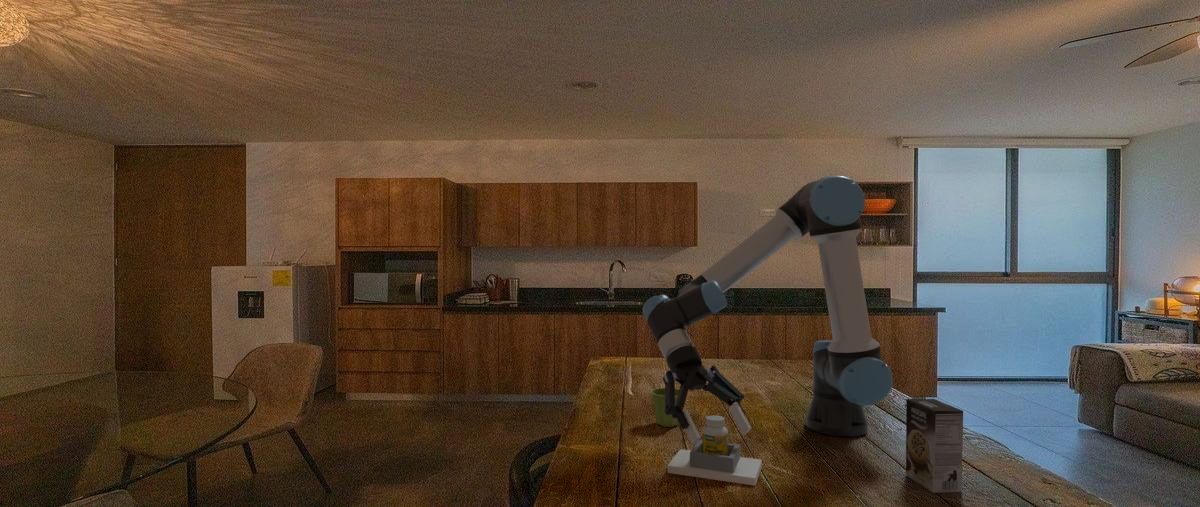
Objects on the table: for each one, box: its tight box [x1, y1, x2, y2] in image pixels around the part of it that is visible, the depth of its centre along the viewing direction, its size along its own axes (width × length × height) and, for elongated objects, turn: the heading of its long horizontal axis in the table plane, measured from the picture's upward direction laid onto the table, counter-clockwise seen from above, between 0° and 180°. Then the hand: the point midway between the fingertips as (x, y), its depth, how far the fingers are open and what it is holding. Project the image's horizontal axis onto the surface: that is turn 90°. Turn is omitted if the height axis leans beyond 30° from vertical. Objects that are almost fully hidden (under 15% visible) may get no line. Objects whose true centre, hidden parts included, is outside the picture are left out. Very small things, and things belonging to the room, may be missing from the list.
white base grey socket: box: [667, 439, 763, 487], centre depth 126 cm, size 18×11×4 cm, turn 68°
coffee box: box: [905, 397, 964, 494], centre depth 119 cm, size 9×6×16 cm
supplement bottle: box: [702, 414, 729, 456], centre depth 126 cm, size 5×5×10 cm
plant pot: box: [650, 387, 680, 428], centre depth 159 cm, size 9×9×9 cm
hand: (722, 436), depth 124 cm, fingers open, 13 cm apart
